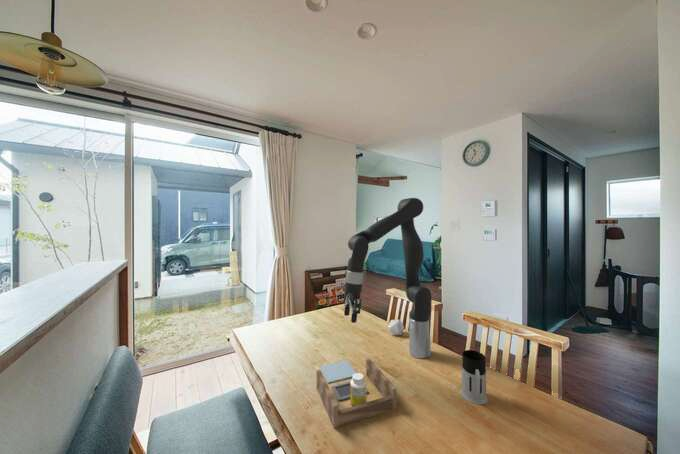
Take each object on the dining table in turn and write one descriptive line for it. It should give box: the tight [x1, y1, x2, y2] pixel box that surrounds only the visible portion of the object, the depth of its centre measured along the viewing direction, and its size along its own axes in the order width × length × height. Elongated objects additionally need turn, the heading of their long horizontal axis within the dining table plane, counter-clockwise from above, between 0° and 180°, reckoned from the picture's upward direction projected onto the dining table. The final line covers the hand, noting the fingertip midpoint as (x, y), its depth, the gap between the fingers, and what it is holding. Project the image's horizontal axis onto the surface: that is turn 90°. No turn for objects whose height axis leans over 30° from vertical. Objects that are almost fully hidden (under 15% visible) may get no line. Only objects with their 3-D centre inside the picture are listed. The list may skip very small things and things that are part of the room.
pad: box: [319, 360, 357, 384], centre depth 108 cm, size 12×13×1 cm
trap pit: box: [331, 380, 370, 402], centre depth 96 cm, size 8×12×1 cm, turn 110°
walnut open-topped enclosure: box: [315, 357, 398, 429], centre depth 92 cm, size 20×23×7 cm
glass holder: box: [460, 349, 489, 405], centre depth 90 cm, size 9×14×15 cm, turn 161°
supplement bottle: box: [349, 372, 367, 407], centre depth 89 cm, size 6×6×10 cm
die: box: [388, 319, 405, 336], centre depth 143 cm, size 8×9×10 cm
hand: (349, 318), depth 109 cm, fingers open, 8 cm apart
